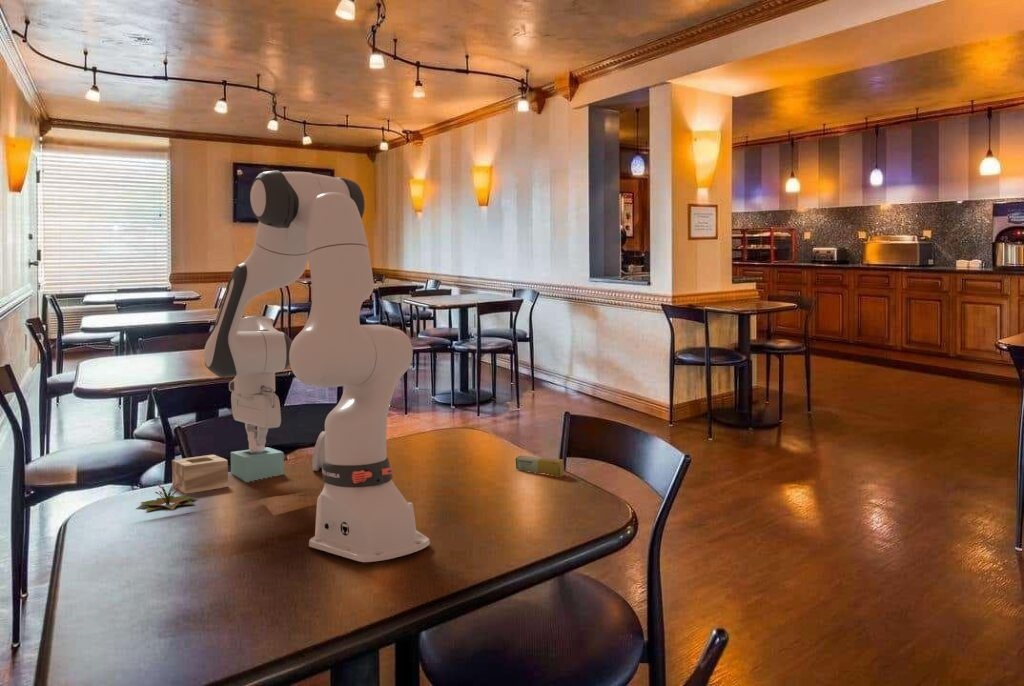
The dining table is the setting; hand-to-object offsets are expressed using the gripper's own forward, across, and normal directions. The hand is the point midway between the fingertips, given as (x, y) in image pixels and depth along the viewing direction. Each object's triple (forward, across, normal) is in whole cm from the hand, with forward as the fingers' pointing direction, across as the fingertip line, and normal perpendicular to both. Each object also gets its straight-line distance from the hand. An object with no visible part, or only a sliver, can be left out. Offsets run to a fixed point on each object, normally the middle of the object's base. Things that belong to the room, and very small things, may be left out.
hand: (256, 443), depth 164 cm
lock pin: (+6, 0, 0) cm, 6 cm away
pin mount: (+8, 0, +13) cm, 15 cm away
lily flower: (+9, -11, +23) cm, 27 cm away
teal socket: (+8, 0, 0) cm, 8 cm away
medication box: (+9, -45, -49) cm, 67 cm away
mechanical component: (+8, -6, -14) cm, 17 cm away
